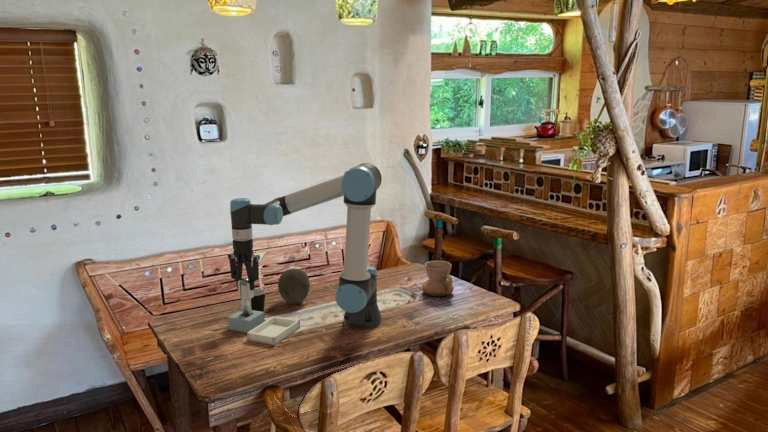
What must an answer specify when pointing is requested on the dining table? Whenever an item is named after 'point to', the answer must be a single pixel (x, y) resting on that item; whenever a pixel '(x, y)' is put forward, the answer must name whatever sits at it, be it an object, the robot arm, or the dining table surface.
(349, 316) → the robot arm
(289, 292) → the cantaloupe
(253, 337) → the tray
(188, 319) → the dining table surface
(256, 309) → the coffee mug
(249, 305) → the pin
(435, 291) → the ceramic jug
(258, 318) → the block
